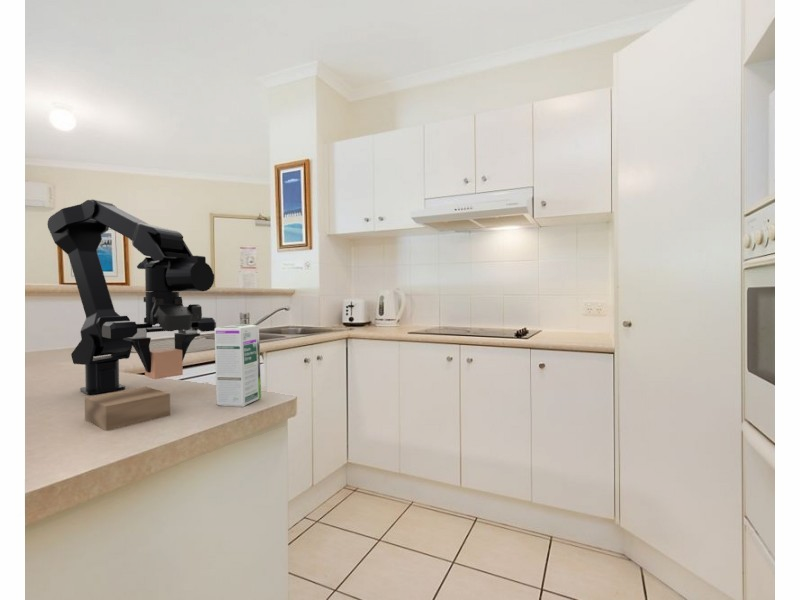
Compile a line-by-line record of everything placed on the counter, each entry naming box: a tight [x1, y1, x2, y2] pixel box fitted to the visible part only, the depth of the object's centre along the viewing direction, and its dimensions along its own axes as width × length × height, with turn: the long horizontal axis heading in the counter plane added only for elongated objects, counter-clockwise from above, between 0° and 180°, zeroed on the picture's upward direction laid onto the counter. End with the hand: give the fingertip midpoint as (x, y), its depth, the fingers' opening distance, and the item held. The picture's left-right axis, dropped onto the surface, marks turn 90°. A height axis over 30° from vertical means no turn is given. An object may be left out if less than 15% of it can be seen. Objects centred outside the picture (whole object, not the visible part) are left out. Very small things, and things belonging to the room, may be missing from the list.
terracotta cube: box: [144, 347, 184, 380], centre depth 77 cm, size 5×5×5 cm
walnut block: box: [84, 386, 171, 432], centre depth 64 cm, size 9×9×4 cm
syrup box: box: [214, 323, 262, 408], centre depth 73 cm, size 6×6×14 cm
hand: (163, 370), depth 77 cm, fingers closed on terracotta cube, 5 cm apart
